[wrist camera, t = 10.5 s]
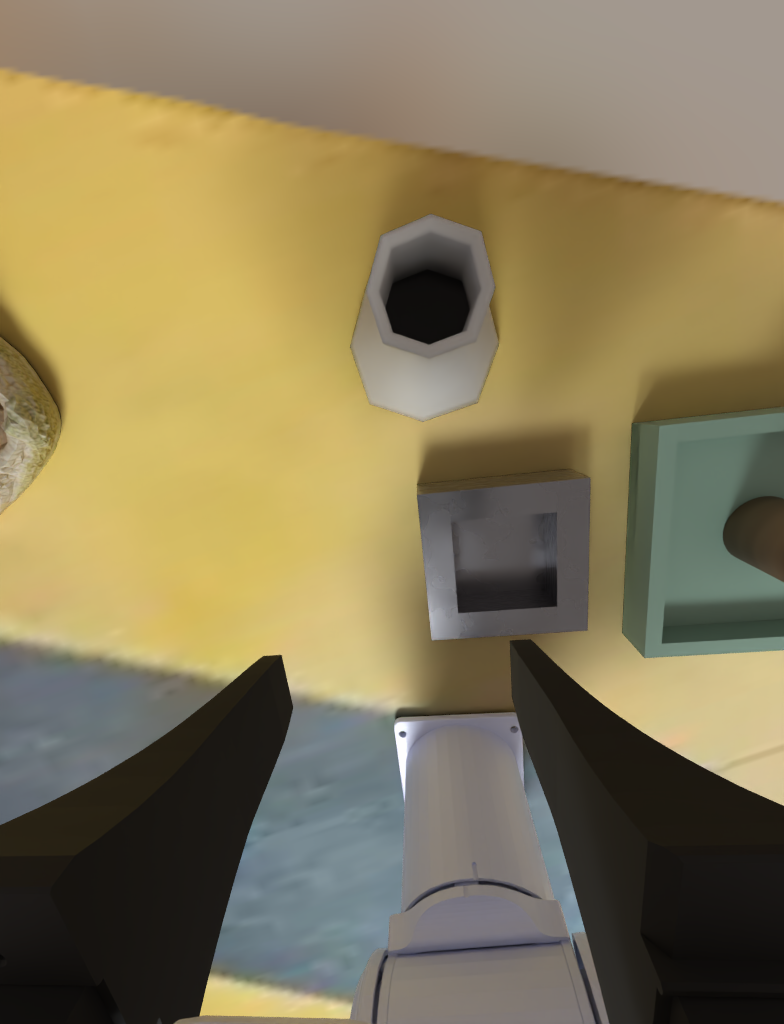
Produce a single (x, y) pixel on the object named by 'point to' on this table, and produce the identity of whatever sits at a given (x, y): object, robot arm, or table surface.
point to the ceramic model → (23, 425)
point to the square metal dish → (506, 554)
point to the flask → (426, 320)
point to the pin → (758, 534)
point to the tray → (700, 535)
